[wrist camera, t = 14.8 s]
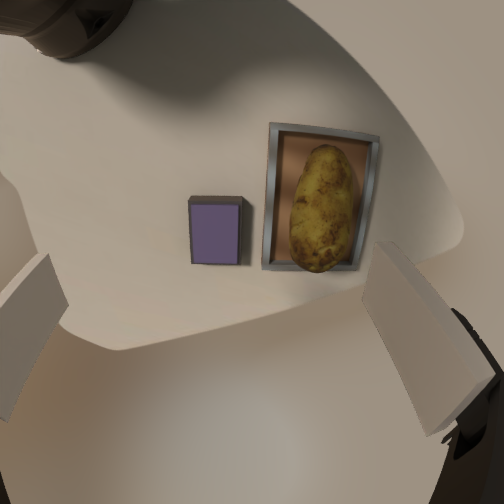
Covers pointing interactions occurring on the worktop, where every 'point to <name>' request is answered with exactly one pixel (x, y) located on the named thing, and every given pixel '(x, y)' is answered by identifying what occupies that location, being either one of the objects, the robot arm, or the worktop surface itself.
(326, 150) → the potato
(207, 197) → the ink pad
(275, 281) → the worktop surface
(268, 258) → the metal baking tray
